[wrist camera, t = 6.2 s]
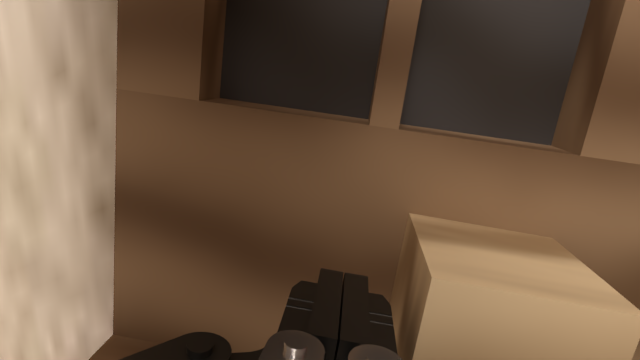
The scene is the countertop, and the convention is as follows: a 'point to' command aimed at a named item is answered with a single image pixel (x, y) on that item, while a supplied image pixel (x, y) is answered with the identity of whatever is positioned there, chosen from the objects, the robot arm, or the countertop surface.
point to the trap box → (358, 146)
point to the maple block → (503, 298)
